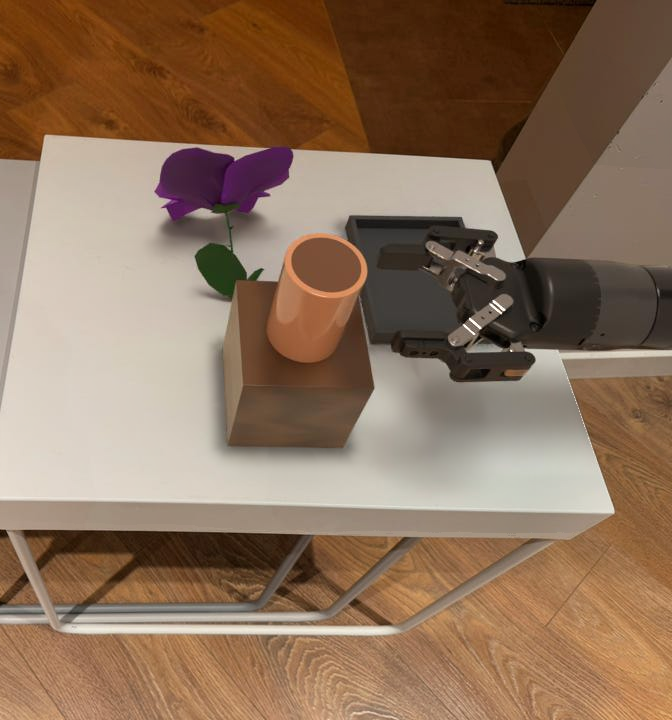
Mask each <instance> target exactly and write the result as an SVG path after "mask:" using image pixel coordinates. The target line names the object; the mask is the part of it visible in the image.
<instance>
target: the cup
mask: <svg viewBox="0 0 672 720" xmlns="http://www.w3.org/2000/svg"><path fill="white" fill-rule="evenodd" d="M366 278H367V265H366V261H365V259H364V257H363V255H362V254H361V252H360V251H359V250H358V249H357V248H356V247H355V246H354V245H352V244H351V243H350V242H348V240H346V239H345V238H343V237H341V236H338V235H337V236H336V235H334V234H329V233H318V232H317V233H310V234H306V235H303V236H301V237H299V238H297V239H296V240H294V241H293V242H292V243H291V244H290V245H289V246H288V248H287V250H286V251H285V254H284V259H283V261H282V265H281V269H280V272H279V275H278V280H277V282H278V283H277V287H276V291H275V294H274V298H273V302H272V305H271V309H270V313H269V316H268V320H267V325H266V332H267V336H268V339H269V341H270V343H271V344H272V346H273V347H274V348H275V349H276V350H277V351H278V352H279V353H280V354H282V355H283V356H285V357H286V358H288V359H291V360H293V361H297V362H302V363H313V362H318V361H321V360H324V359H326V358H328V357H329V356H330V355H332V354H333V353H334V352H335V350H336V349H337V347H338V345H339V342H340V340H341V337H342V335H343V333H344V330H345V328H346V326H347V323H348V321H349V319H350V316H351V314H352V311H353V309H354V307H355V304H356V302H357V300H358V297H359V298H360V293H361V290H362V288H363V285H364V283H365V281H366Z"/></svg>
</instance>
